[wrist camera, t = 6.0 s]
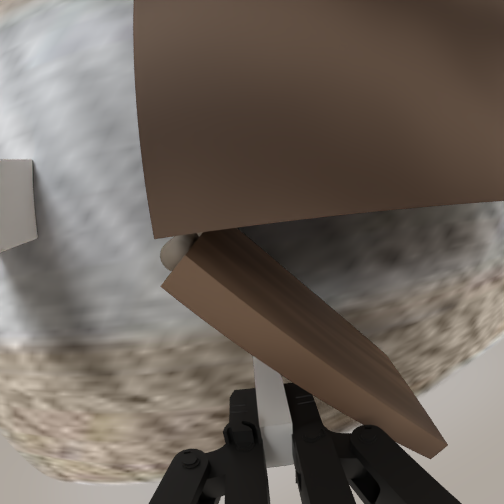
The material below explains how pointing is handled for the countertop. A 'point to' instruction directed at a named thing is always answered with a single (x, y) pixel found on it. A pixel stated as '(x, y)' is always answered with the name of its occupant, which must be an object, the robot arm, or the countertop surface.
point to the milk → (16, 203)
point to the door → (294, 332)
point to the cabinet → (316, 108)
